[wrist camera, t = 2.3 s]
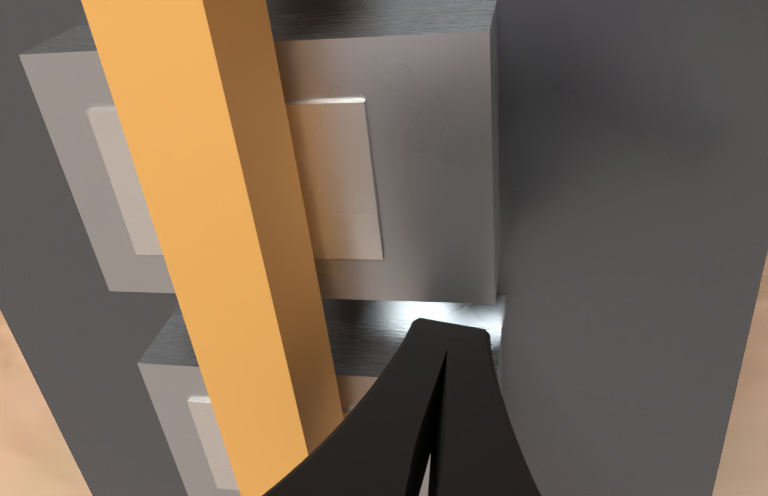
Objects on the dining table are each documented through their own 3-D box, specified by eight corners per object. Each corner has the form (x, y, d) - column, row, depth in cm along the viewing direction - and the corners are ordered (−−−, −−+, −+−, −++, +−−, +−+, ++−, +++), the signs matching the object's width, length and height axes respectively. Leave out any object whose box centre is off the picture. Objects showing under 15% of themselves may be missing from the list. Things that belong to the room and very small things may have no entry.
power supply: (496, 0, 12) (488, 33, 10) (499, 251, 14) (495, 307, 13) (77, 26, 13) (15, 56, 12) (150, 245, 16) (106, 294, 14)
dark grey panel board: (942, -642, 8) (1104, -821, 6) (687, 554, 19) (706, 652, 17) (-288, -363, 12) (-484, -400, 9) (114, 493, 23) (69, 567, 21)
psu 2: (501, 327, 15) (496, 387, 14) (503, 478, 18) (499, 543, 16) (172, 314, 17) (134, 366, 15) (219, 453, 20) (190, 510, 18)
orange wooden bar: (29, -346, 8) (-98, -382, 7) (245, -388, 8) (163, -439, 6) (287, 555, 18) (261, 631, 16) (394, 567, 17) (378, 649, 16)
